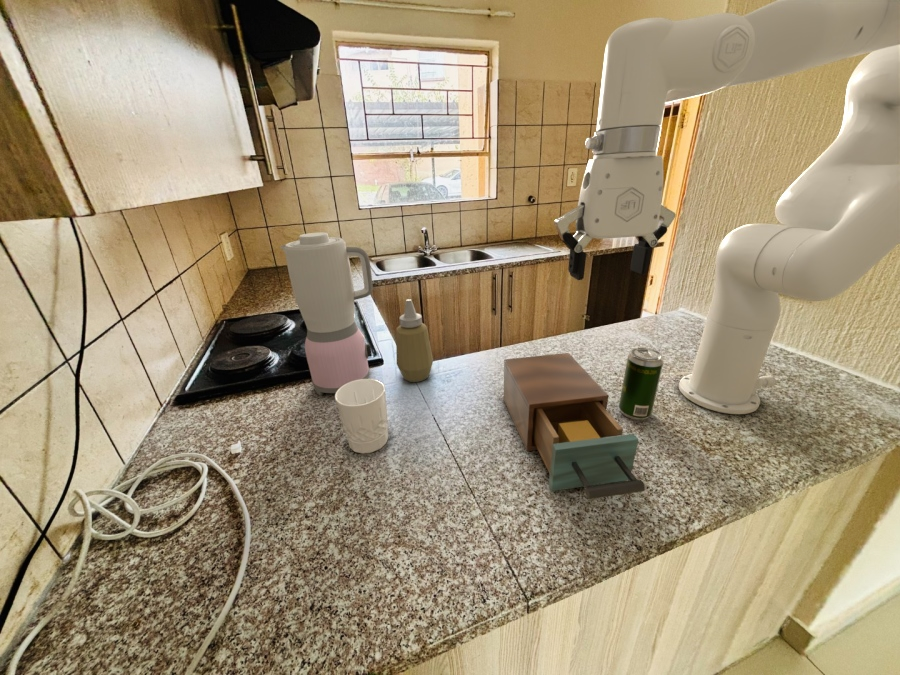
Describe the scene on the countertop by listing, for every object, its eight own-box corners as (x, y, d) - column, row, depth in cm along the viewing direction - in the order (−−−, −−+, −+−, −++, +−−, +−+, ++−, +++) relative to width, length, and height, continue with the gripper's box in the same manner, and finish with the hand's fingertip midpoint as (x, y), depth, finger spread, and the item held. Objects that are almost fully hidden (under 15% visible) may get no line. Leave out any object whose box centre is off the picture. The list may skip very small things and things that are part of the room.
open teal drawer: (654, 513, 46) (666, 470, 43) (568, 526, 45) (574, 483, 41) (585, 420, 63) (590, 385, 60) (521, 428, 62) (523, 392, 59)
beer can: (657, 420, 63) (671, 360, 58) (626, 422, 63) (638, 362, 58) (641, 402, 68) (653, 345, 63) (613, 404, 68) (623, 347, 63)
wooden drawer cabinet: (601, 441, 59) (608, 395, 55) (526, 451, 58) (529, 404, 54) (564, 392, 72) (568, 352, 68) (503, 399, 71) (504, 359, 67)
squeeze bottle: (429, 386, 77) (422, 307, 69) (393, 384, 78) (382, 306, 71) (437, 368, 84) (432, 294, 76) (404, 365, 85) (396, 293, 78)
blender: (310, 402, 73) (270, 243, 60) (315, 373, 84) (282, 232, 71) (388, 389, 76) (366, 235, 63) (383, 363, 87) (364, 226, 74)
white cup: (399, 429, 64) (393, 382, 60) (377, 460, 57) (368, 409, 53) (361, 422, 67) (352, 375, 62) (336, 451, 60) (324, 401, 56)
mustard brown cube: (584, 443, 56) (587, 420, 54) (598, 464, 52) (602, 440, 50) (556, 446, 56) (558, 423, 54) (568, 468, 52) (571, 443, 50)
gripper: (574, 146, 42) (561, 287, 50) (709, 140, 44) (678, 277, 51) (550, 150, 49) (542, 273, 56) (668, 144, 51) (646, 265, 58)
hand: (607, 275), depth 54 cm, fingers open, 9 cm apart
